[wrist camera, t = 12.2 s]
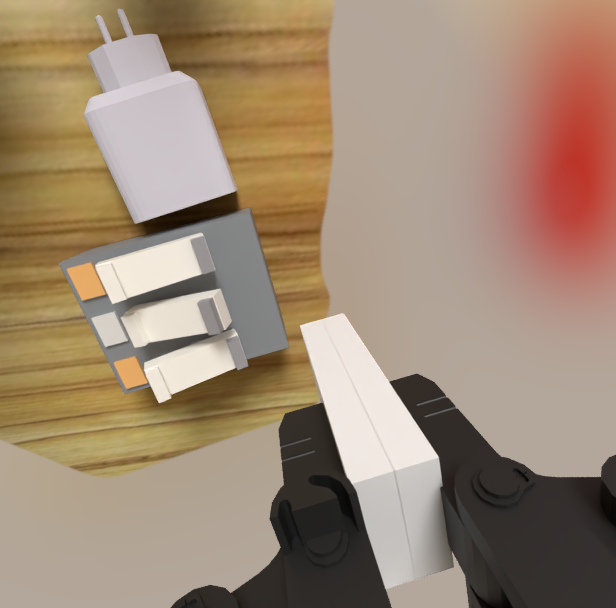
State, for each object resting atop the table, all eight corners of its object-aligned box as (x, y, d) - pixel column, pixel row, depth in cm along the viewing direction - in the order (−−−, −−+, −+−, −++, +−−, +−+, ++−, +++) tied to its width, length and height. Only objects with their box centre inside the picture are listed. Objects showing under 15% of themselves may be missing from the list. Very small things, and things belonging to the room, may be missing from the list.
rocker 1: (114, 298, 28) (111, 305, 26) (97, 262, 27) (93, 267, 25) (212, 266, 31) (217, 271, 29) (200, 232, 30) (204, 234, 28)
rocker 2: (149, 335, 32) (134, 348, 30) (135, 304, 31) (119, 316, 29) (231, 321, 30) (222, 334, 28) (220, 288, 29) (209, 299, 27)
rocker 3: (157, 391, 32) (158, 404, 29) (144, 362, 31) (143, 374, 28) (243, 356, 34) (249, 366, 32) (233, 328, 33) (239, 336, 31)
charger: (173, 9, 30) (238, 190, 35) (66, 42, 29) (147, 219, 35) (159, -21, 25) (236, 192, 31) (32, 18, 25) (132, 225, 30)
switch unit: (140, 363, 39) (118, 399, 33) (87, 250, 35) (49, 266, 28) (284, 323, 40) (289, 351, 34) (250, 207, 36) (249, 213, 29)
